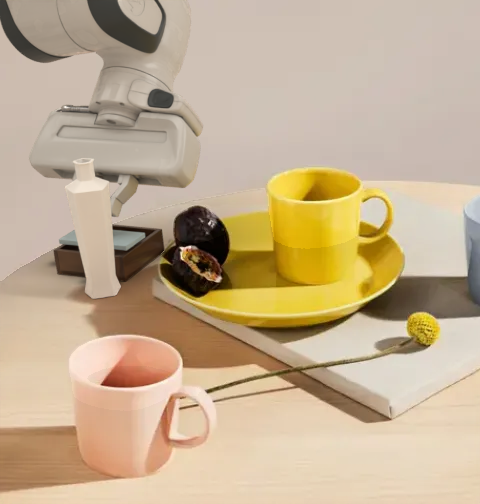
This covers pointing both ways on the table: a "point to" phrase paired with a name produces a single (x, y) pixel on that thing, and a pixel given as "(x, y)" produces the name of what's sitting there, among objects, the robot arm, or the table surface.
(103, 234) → the white faceted vase
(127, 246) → the dark cylinder on slab
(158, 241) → the dark brown square tray
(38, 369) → the table surface
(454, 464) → the table surface
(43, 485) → the table surface
